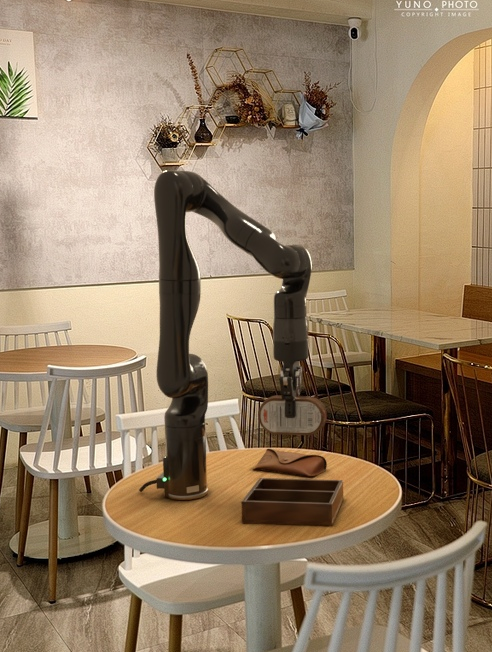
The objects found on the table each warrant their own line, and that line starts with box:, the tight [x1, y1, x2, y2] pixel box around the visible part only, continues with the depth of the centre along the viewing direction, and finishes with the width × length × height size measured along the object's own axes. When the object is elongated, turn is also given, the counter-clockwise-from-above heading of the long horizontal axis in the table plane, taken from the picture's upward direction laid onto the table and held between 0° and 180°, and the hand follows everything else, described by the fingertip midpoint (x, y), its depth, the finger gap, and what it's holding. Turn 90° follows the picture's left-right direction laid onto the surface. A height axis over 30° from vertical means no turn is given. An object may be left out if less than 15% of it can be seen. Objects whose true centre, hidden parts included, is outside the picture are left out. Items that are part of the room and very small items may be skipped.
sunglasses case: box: [252, 448, 328, 477], centre depth 225 cm, size 18×7×7 cm
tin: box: [257, 394, 328, 436], centre depth 191 cm, size 15×3×8 cm, turn 83°
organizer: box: [240, 477, 344, 527], centre depth 194 cm, size 20×16×5 cm
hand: (292, 415), depth 191 cm, fingers closed on tin, 2 cm apart
